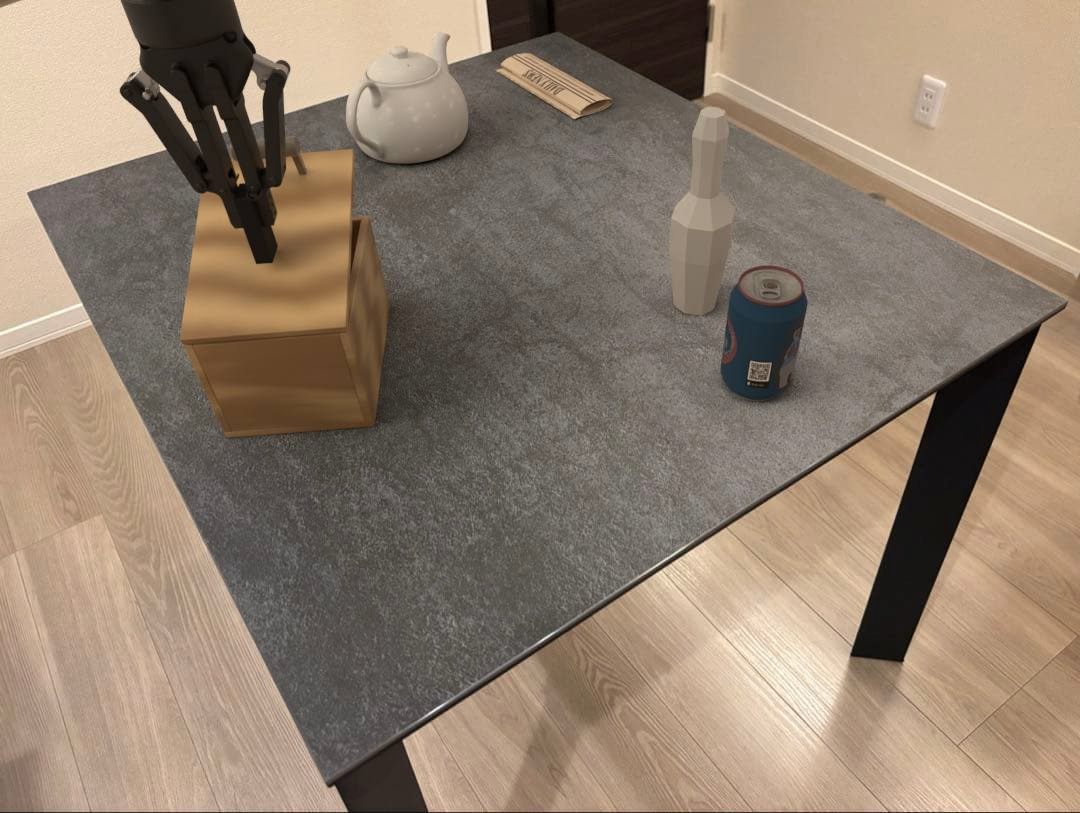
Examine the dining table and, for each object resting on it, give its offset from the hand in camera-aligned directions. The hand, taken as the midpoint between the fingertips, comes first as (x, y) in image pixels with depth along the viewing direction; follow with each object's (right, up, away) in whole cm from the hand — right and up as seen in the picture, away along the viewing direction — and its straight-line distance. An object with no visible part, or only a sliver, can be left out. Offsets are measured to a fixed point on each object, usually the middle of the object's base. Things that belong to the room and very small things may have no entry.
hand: (267, 254), depth 75 cm
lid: (0, +1, +2) cm, 3 cm away
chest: (+1, -10, +13) cm, 16 cm away
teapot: (+6, +26, +49) cm, 55 cm away
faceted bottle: (+42, -2, +17) cm, 45 cm away
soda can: (+46, -11, +7) cm, 48 cm away
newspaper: (+27, +38, +59) cm, 75 cm away
